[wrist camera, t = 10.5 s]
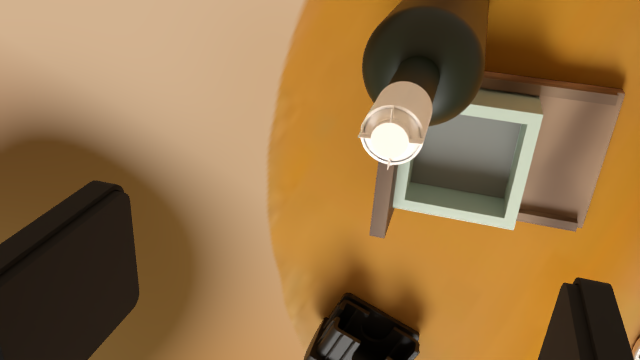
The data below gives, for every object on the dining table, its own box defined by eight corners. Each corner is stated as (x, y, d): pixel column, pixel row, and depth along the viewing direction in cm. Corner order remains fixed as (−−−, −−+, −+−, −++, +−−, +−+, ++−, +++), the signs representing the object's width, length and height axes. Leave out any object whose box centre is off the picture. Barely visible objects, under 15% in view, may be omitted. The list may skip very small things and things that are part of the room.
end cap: (315, 330, 63) (296, 373, 57) (342, 288, 60) (326, 329, 54) (393, 375, 63) (382, 423, 57) (425, 335, 59) (417, 383, 53)
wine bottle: (493, -35, 43) (491, 60, 17) (483, 42, 45) (468, 228, 19) (417, -37, 44) (305, 47, 18) (411, 37, 47) (306, 206, 21)
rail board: (622, 89, 44) (649, 129, 36) (580, 221, 49) (596, 280, 42) (404, 60, 48) (387, 91, 40) (388, 186, 53) (369, 235, 45)
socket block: (539, 96, 45) (543, 114, 41) (512, 204, 49) (513, 230, 45) (415, 79, 47) (408, 95, 43) (400, 184, 51) (392, 207, 47)
